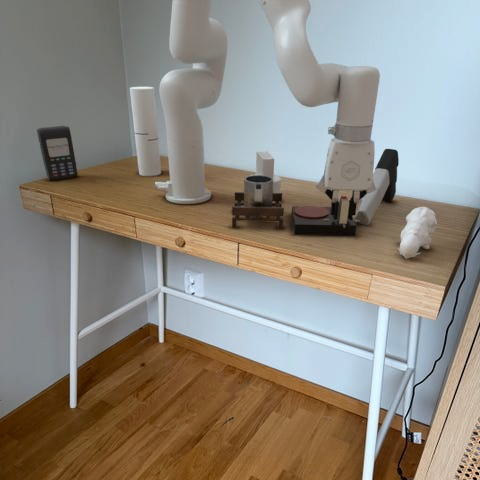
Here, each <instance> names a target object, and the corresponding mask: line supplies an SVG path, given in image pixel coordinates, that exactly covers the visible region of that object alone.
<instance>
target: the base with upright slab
mask: <svg viewBox="0 0 480 480" xmlns="http://www.w3.org/2000/svg"><path fill="white" fill-rule="evenodd" d="M255 154H256V155H255V157H256V158H255V174H254V175H264V176H269V177H271V178H273V193H281V187H282V178H281V176H279V175H276V174H275V171H274V170H275V157H273V155H271V153H270V152H269V151H267V150H265V151H264V150H261V151H256V153H255ZM252 175H253V174H251V175H250V176H252ZM272 203H275V201H272ZM279 203H281V201H279Z"/></svg>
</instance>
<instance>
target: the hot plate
mask: <svg viewBox="0 0 480 480" xmlns="http://www.w3.org/2000/svg"><path fill="white" fill-rule="evenodd" d="M299 206H300V207H297V208H295V210H294V213H295V214H297V215H298V216H301V217H306V218H322V217H326V216H328V215H329V211H328V210H327V209H326V208H323V207H324V206H319V205H299Z"/></svg>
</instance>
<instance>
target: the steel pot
mask: <svg viewBox="0 0 480 480" xmlns="http://www.w3.org/2000/svg"><path fill="white" fill-rule="evenodd" d="M251 175H252V176H251ZM251 175H247V176H246V177H244V179H243V192H244V201H243V202H244V206H243V207H273V206H272V197H273V178H271V177H269V176H264V175H255V174H251Z"/></svg>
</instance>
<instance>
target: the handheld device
mask: <svg viewBox="0 0 480 480" xmlns="http://www.w3.org/2000/svg"><path fill="white" fill-rule="evenodd" d="M399 164H400V163H399V152H398V150H397V149H393V148H385V149H383V152H382V153H381V156H380V158H379V160H378V162H377V164H376V166H375V168H374V170H373V182H374V185H375V187H376V190H375V191H373V192H371V193H369V194H366V195H365V196H364V197H363V198H362V199H361V202H360V205H359V207H358V211H356V214H355V220H360V221H356V224H360V225H364V226H369V225H370V224H371V222H372V220H373V218H374V217H375V215H376V212H377V210H378V208H379V206H380V204H381V203H388V204H391V203H392V202H393V200H394V197H395V195H396V193H397V181H398V167H399Z"/></svg>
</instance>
